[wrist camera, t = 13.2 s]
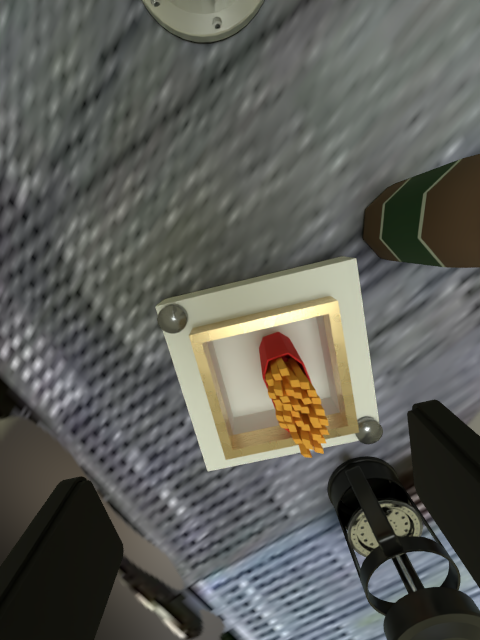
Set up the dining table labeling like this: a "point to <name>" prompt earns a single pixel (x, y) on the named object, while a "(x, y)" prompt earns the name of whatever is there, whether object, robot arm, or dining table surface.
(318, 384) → the gold-rimmed square tray
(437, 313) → the dining table surface
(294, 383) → the french fries
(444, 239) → the beer bottle
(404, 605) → the french press
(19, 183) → the dining table surface
